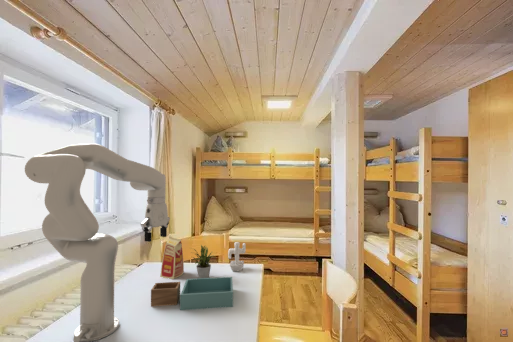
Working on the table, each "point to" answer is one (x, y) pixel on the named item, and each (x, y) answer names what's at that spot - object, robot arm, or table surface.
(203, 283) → the teal crate
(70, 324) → the table surface
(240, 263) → the figurine
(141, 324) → the table surface
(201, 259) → the house plant
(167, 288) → the walnut crate
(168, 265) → the milk carton
